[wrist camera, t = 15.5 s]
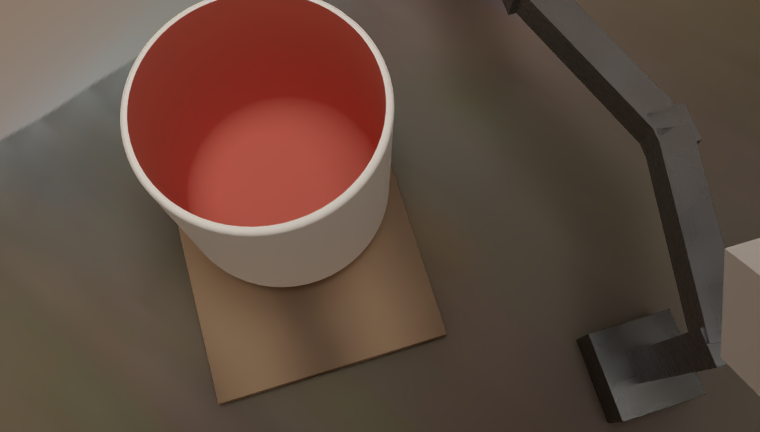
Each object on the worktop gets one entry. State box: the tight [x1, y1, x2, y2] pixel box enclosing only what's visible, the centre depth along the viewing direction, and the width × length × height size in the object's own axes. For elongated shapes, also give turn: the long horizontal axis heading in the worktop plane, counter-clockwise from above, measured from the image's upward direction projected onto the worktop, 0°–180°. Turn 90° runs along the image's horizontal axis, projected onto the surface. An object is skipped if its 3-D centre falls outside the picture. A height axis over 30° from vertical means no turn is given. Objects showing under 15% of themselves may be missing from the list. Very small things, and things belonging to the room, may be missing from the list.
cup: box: [120, 0, 394, 287], centre depth 30 cm, size 10×10×10 cm
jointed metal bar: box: [502, 0, 727, 423], centre depth 32 cm, size 5×28×10 cm, turn 17°
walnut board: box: [178, 166, 447, 405], centre depth 36 cm, size 11×18×1 cm, turn 17°
